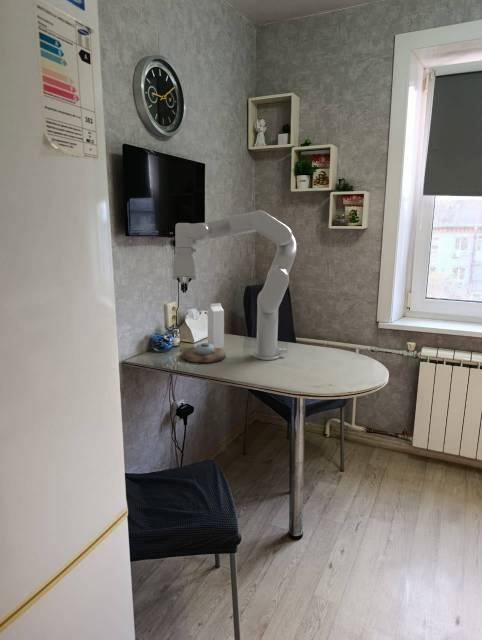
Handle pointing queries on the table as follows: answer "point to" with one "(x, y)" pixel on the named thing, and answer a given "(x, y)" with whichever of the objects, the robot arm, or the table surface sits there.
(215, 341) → the milk
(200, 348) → the cover
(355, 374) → the table surface
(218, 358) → the turntable
